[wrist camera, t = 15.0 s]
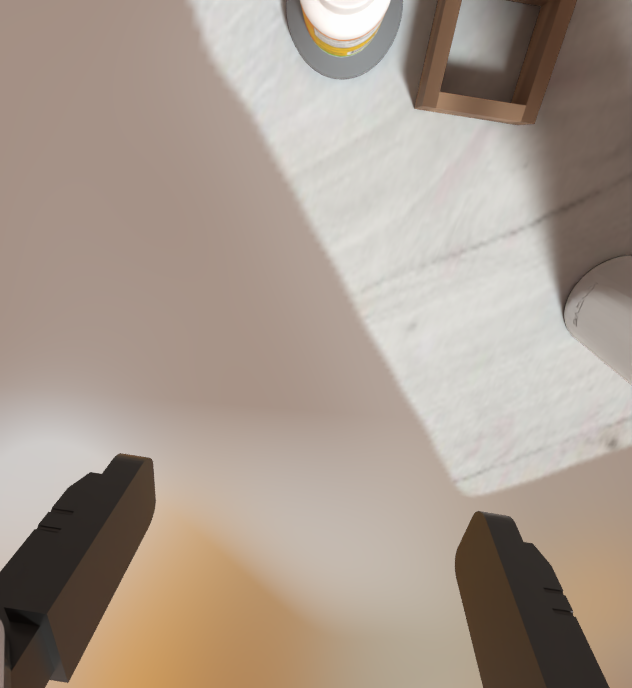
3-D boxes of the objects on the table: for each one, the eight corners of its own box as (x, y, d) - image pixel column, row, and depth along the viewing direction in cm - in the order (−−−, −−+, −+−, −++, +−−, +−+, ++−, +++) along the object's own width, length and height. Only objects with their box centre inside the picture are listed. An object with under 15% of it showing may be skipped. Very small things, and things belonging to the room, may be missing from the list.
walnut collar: (561, -10, 27) (586, -26, 25) (516, 124, 31) (534, 123, 28) (444, -31, 27) (456, -48, 24) (414, 108, 31) (422, 106, 28)
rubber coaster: (413, -54, 27) (415, -61, 26) (386, 87, 30) (388, 85, 29) (294, -75, 26) (292, -82, 25) (282, 70, 30) (281, 68, 29)
